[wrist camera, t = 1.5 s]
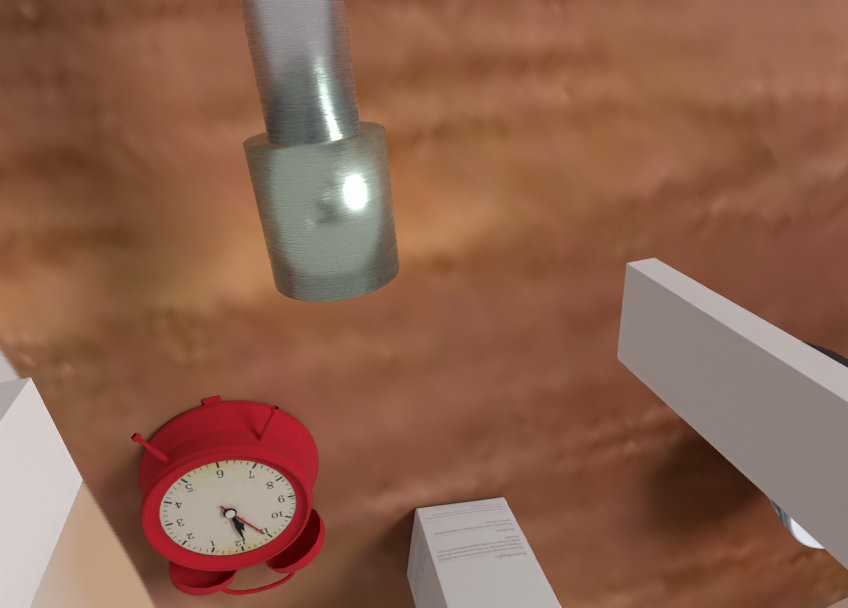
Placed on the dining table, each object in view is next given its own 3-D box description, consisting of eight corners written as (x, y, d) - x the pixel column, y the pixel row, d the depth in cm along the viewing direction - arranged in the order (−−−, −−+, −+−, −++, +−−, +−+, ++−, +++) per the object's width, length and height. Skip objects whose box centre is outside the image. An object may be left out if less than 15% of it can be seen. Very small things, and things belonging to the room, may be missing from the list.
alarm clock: (303, 402, 29) (347, 626, 33) (301, 363, 35) (338, 557, 39) (92, 445, 27) (165, 679, 31) (128, 396, 33) (185, 597, 37)
